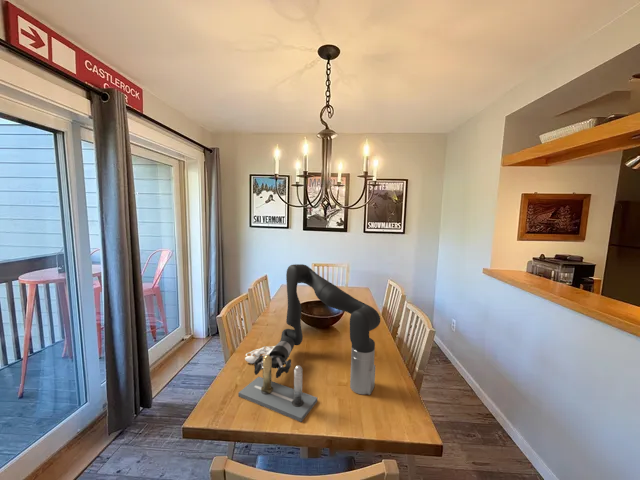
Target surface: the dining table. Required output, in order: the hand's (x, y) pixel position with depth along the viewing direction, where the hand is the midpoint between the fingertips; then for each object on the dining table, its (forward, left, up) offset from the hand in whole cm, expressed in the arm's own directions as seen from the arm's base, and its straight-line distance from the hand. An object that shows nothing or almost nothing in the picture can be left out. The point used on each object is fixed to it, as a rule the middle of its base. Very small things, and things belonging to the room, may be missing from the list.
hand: (266, 374), depth 108 cm
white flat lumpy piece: (+19, -22, -10) cm, 31 cm away
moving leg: (0, -1, -7) cm, 7 cm away
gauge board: (-5, -1, -9) cm, 10 cm away
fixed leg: (-14, -1, -7) cm, 16 cm away
